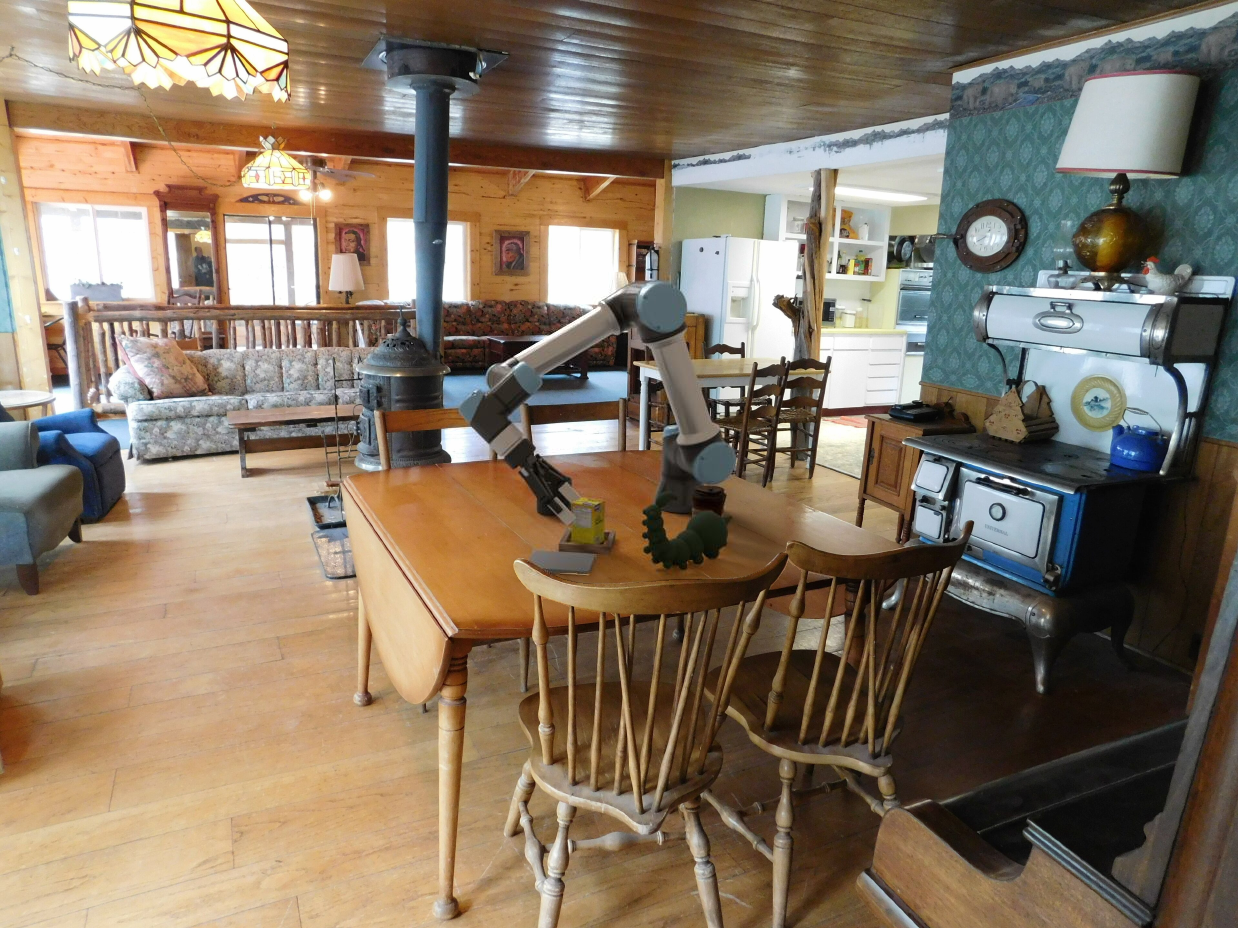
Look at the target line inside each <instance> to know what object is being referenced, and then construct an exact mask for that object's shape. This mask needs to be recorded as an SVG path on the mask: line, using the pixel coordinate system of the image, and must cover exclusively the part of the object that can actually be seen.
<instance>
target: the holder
mask: <svg viewBox="0 0 1238 928" xmlns="http://www.w3.org/2000/svg"><path fill="white" fill-rule="evenodd" d="M571 533H572V527H567V528H566V530H565V531H564V533H563V535H562V537H561V539H560V541H559V542H558V552H573V553H589V554H596V555H599V556H601V555H604V556H611V552H612V549H613V547H614V544H615V541H616V530H610V529H609V530H607V529H606V530H605V529H604V541H606V542H605V544H602V545H600V544H584V543H571V542H570V541H571Z"/></svg>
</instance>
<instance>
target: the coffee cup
mask: <svg viewBox="0 0 1238 928" xmlns="http://www.w3.org/2000/svg"><path fill="white" fill-rule="evenodd" d="M726 499H727V493H725V488H724V487H722V486H717V485H708V484H706V485H704V486H696V487H695V490H694V491H693V492H692V500H693V506H692V513H691V514H692V515H691V516H692V517H693V516H695V515H696V514H698V513H701V512H713V513H716V514H718V515H719V516H720V517H724V511H725V509H724V508H725V504H726ZM692 517H691V518H692Z"/></svg>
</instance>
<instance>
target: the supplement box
mask: <svg viewBox="0 0 1238 928" xmlns="http://www.w3.org/2000/svg"><path fill="white" fill-rule="evenodd" d="M605 506H606V500H605V499H600V498H599V499H598V498H594V497H593V498H592V497H586V496H583V497H582V496H581V498H580V499H578V500H576V501H574V502H572V510H571V513H572V514H573V515H574V516H575V517H576V519H574V520H573V521H572V522H571V528H572V533H571V539H570V541H571V542H570V543H584V544H600V545H605V540H604V530H605V516H606V515H605V513H606V507H605Z"/></svg>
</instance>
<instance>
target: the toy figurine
mask: <svg viewBox="0 0 1238 928" xmlns="http://www.w3.org/2000/svg"><path fill="white" fill-rule="evenodd" d="M672 499H674V500H675V501H677V500H678V497H677V496H676V494H674V493H673V492H663V493H661V494H660V495H658V496H657V498H656V500H655V503H656V504H654V503H653V504H650V505H648V506H647V507H646V508H644V509H642V514H643V515H644V516H645V517H646V519H642V521H641V525H642V526H643V527H646V529H647V530H646V531H643V532H642V534H641V537H642V538H643V539H644V540H646V539H647V540H648V545H645V546H643V548H642V549H643V551H642V552H643V553H644V554H646V555H649V554H651V555H650V556H652V557H651V562H652V564H654V565H659V564H660V563H662V566H663V569H664V570H670V569H672V567H674V566H675V567H678V569H680V570H681V571H685V570H687V569H688V568H689V565H688V564H689V563H688V562H689V561H692V562H693V563H694V565H702V564H703V563H704V561H705V558H707V559H708V558H709V559H710V560H712V559H713V560H714V559H716V558H718V557H719V556H720V550H721V549H722V548H723V547H726V546H727V545H728V536H729V530H728V525H729V523H730V522H731V520H732V519H733V517H732V516H733V515H732V516H731V515H727V516H723V517H720V516H719V515H718V514H716V513H713V512H701V513H698V514H696V515H695V516H693V517H691V518H690V519H689V520H688V522H687V525H686V527H685V530H681V532H680V533H678V534H677V536H676V537H674V538H671V539H669V538H668V537H667V531H666V529H665V527H664V526H665V521H664V518H663V517H662V514H663V510H661V507H663V506H665V505H666V504H667V503H668V502H669V501H670V500H672ZM709 559H708V560H709Z"/></svg>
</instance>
